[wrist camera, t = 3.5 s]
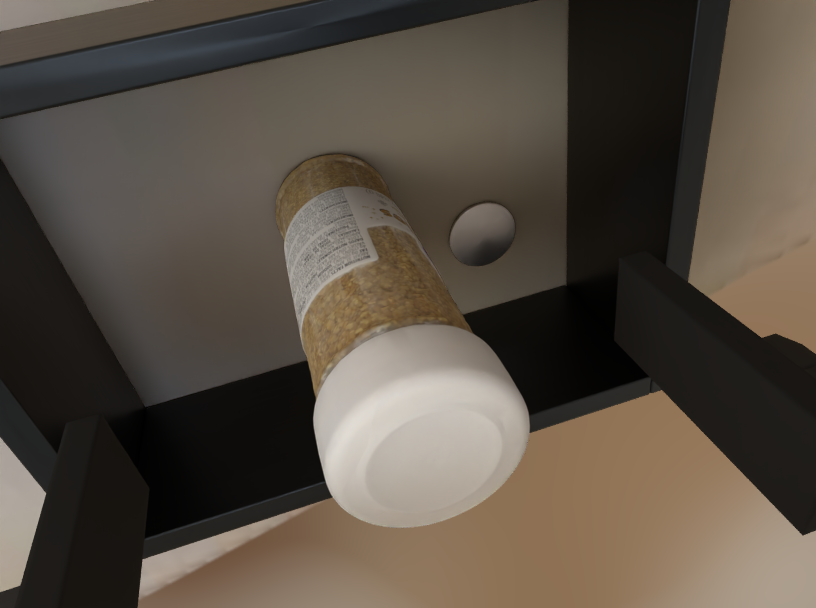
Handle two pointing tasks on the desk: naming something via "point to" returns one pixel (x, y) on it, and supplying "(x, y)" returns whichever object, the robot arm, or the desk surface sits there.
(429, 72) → the desk surface
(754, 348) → the robot arm
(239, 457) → the black open box
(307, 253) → the sprinkles bottle
